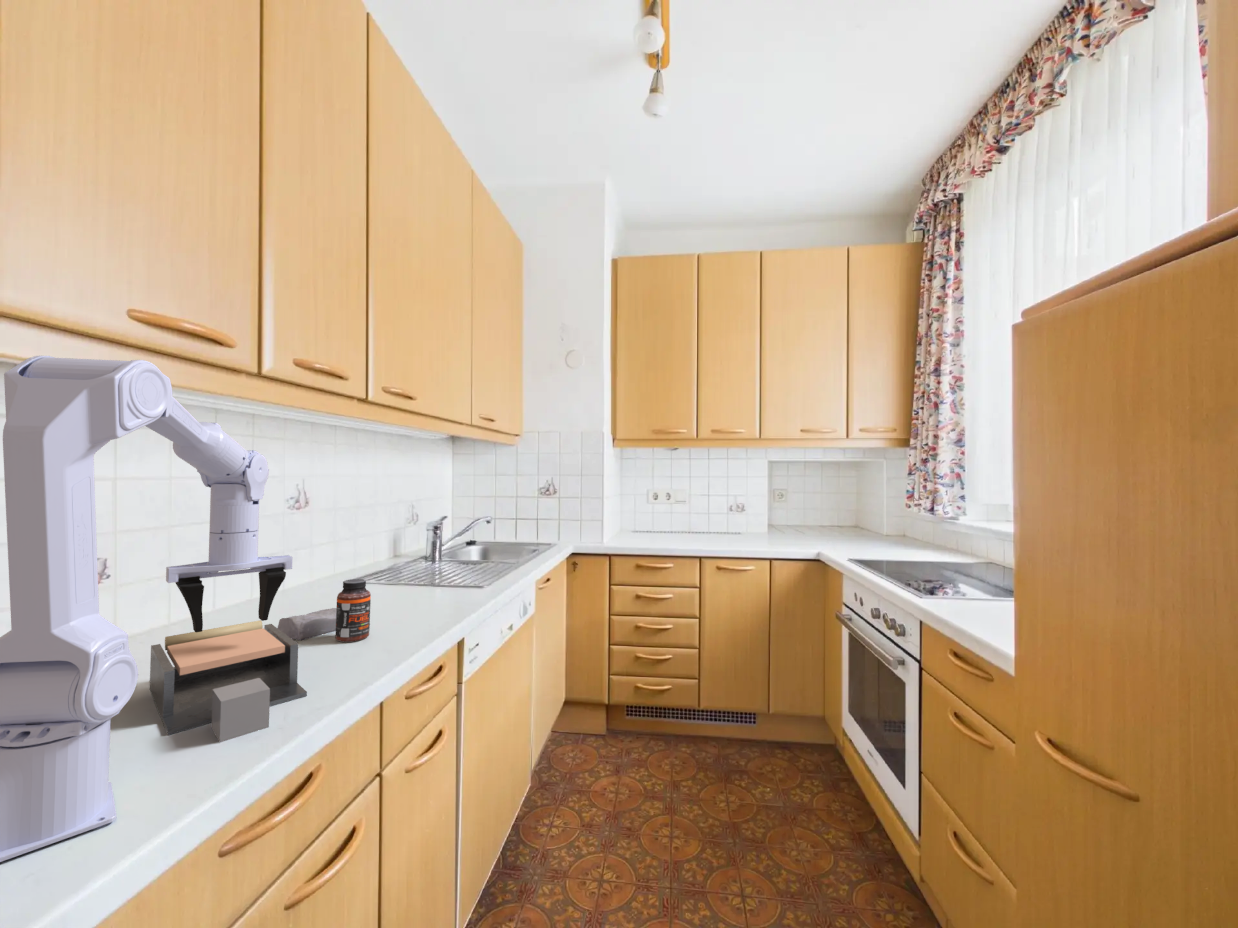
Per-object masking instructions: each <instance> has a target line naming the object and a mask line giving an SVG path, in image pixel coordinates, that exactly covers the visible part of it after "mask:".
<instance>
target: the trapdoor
mask: <svg viewBox="0 0 1238 928" xmlns="http://www.w3.org/2000/svg"><path fill="white" fill-rule="evenodd" d="M263 626H264V625H263V621H262V620H260V619H259V620H254V621H250V622H249V621H248V622H243V623H237V624H231V625H226V626H220V627H214V628H207V629H202V632H195V631H192V632H191V631H190V632H185V633H180V634H174V635H170V636H169V635H168V636H165V637H164V651H166V655H168V656H167V657H169V660H170V662H172V663H171V664H173V667H175V668H176V670H177V671H178V673H179V675H184V674H189V673H193V672H198V671H202V670H207V669H211V668H216V667H220V666H225V665H230V664H234V663H239V662H243V661H248V660H252V659H257V658H261V657H266V656H270V655H275V654H279V653H284V652H285V645H284V644H282V643H281V642H280V641H279V640H277V639H276V638H275V637H274V636H272V635H271V634H270V633H269V632H267V631H266V630H265V629H264V627H263Z"/></svg>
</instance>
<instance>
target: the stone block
mask: <svg viewBox="0 0 1238 928" xmlns="http://www.w3.org/2000/svg"><path fill="white" fill-rule="evenodd" d="M336 609H337V607H332V608H331V607H330V608H328V609H327V608H326V609H319V610H317V611H311V612H308V613H306V614H301V615H300V614H299V615H292V616H289V617H282V618H281V619H280V618H279V620H278V625H277V628H278V629H279V630H280V631H282V632H283V633H284V634H286V635H287V636H288V637H290V638H291V639H292V640H296V639H297V641H303V640H308V639H311V638H315V637H319V636H322V634H323V635H325V634H329V633H332V632H333V633H334V632H336Z"/></svg>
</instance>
